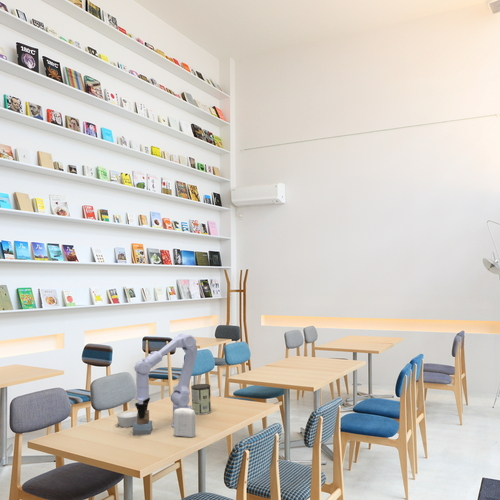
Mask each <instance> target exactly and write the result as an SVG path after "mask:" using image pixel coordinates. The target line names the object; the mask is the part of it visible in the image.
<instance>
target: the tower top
mask: <svg viewBox="0 0 500 500" xmlns="http://www.w3.org/2000/svg"><path fill="white" fill-rule="evenodd" d="M152 425H153V420H149V423H148V424H137V422H136V423H134V424H133V426H132V431H133V430H148V429H149V428H150V427H152Z"/></svg>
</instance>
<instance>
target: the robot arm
mask: <svg viewBox="0 0 500 500" xmlns="http://www.w3.org/2000/svg"><path fill="white" fill-rule="evenodd" d="M178 348H181V349H182V350H183V351H184V353H185V357H184V359H183V363H182V368H181V371H180V375H179V379H178V383H177V385H176V387H174V390H173V392H172V393H171V395H170V401H171V403H172V424H171V427H172V428H174V411H175V410H176V409H179V408H189V409H192V405H189V403H190V393H191V392H190V389H189V386H190V382H191V378H192V374H193V372H194V368H195V362H196V359H197V355H198V349H197V340H196V338H195V337H194V336H193V335H192V334H186V333H179V334H177V336H175V337H174V338H173V339H172V340H170V342H168V343H167V344H166V345H164V346H163V347H162V348H160V350H158V351H157V350H154V351H150V354H149V355H147V356H146V357H143V358H142V360H139V361H137V362H136V363H135V366H134V367H133V369H134V371H135V372H136V373H135V375H136V378H135V381H136V385H135V386H136V388H135V389H136V396H135V395H134V397H133V399H136V400H137V401H138V402H136V403H134V405H135V408H136V410H137V412H138V414H139V418H140V419H142V418H144V417H145V410H148V406H149V403H150V400H151V398H150V393H149V391H150V386H149V384H150V383H149V381H150V380H149V379H150V378H149V374H150V372H151V369H152V368H153V367H155V366H156V365H158V364H159V363H160V362H161V361H162V360H163V357H164V356H166V355H168V354H169V353H170V352H172V351H173V350H175V349H178Z"/></svg>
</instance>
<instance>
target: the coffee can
mask: <svg viewBox="0 0 500 500" xmlns="http://www.w3.org/2000/svg"><path fill="white" fill-rule="evenodd" d="M190 388H191V407H192V410H194V411H195V416H200V415H201V416H202V415H208V414H210V413H212V410H211V408H212V405H211V385H210V384H208V383H199V384H198V383H197V384H193V385H191V387H190Z"/></svg>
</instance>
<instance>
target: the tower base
mask: <svg viewBox="0 0 500 500" xmlns="http://www.w3.org/2000/svg"><path fill="white" fill-rule="evenodd" d="M153 428H154V427H153V424H152V427H150V428H149V429H148V430H133V429H132V435H133V436H143V435H145V436H146V435H147V436H149V435H151V434H152V432H153Z"/></svg>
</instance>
